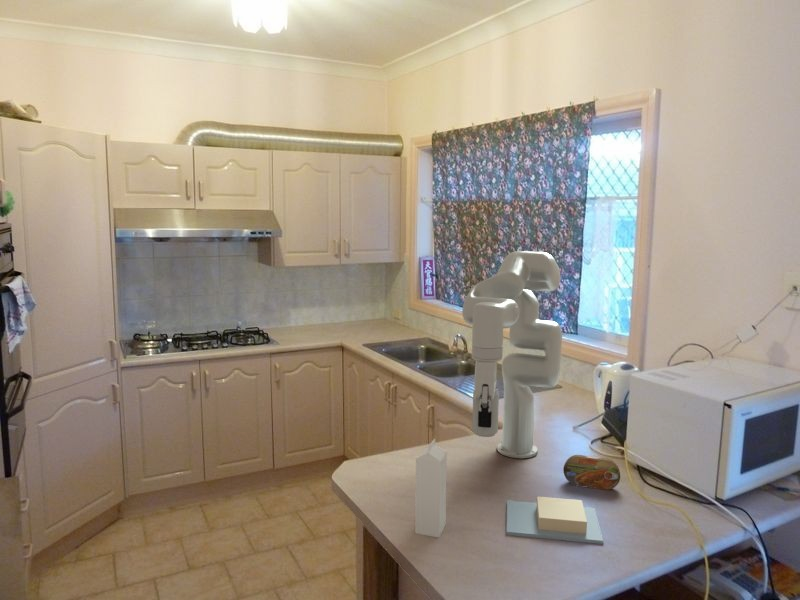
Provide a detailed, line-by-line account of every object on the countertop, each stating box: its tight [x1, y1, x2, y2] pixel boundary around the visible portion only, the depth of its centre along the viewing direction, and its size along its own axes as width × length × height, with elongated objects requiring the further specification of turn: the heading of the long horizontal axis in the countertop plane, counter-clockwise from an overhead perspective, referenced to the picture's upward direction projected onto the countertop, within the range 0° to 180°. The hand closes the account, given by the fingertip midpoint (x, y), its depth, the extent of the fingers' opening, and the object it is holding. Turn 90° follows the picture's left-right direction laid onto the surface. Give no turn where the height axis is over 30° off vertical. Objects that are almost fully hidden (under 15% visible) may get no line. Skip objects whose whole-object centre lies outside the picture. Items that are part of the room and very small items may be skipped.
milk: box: [414, 437, 448, 539], centre depth 147 cm, size 6×6×22 cm
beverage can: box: [471, 386, 500, 438], centre depth 155 cm, size 6×6×12 cm
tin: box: [562, 454, 621, 491], centre depth 172 cm, size 15×3×8 cm, turn 70°
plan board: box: [506, 496, 604, 545], centre depth 152 cm, size 16×22×4 cm
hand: (485, 421), depth 156 cm, fingers closed on beverage can, 6 cm apart
